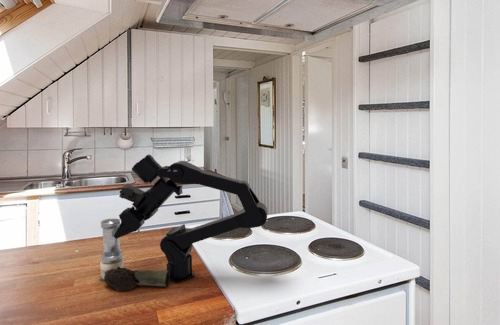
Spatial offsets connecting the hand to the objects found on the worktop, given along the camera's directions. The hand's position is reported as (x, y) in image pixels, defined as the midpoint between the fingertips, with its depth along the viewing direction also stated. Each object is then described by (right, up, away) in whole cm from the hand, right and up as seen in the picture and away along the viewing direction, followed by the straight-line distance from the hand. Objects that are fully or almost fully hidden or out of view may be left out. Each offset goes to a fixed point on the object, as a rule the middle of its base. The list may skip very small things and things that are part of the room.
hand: (121, 232), depth 100 cm
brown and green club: (+6, -15, -5) cm, 16 cm away
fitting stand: (-3, -13, +1) cm, 14 cm away
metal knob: (-3, -9, +1) cm, 9 cm away
